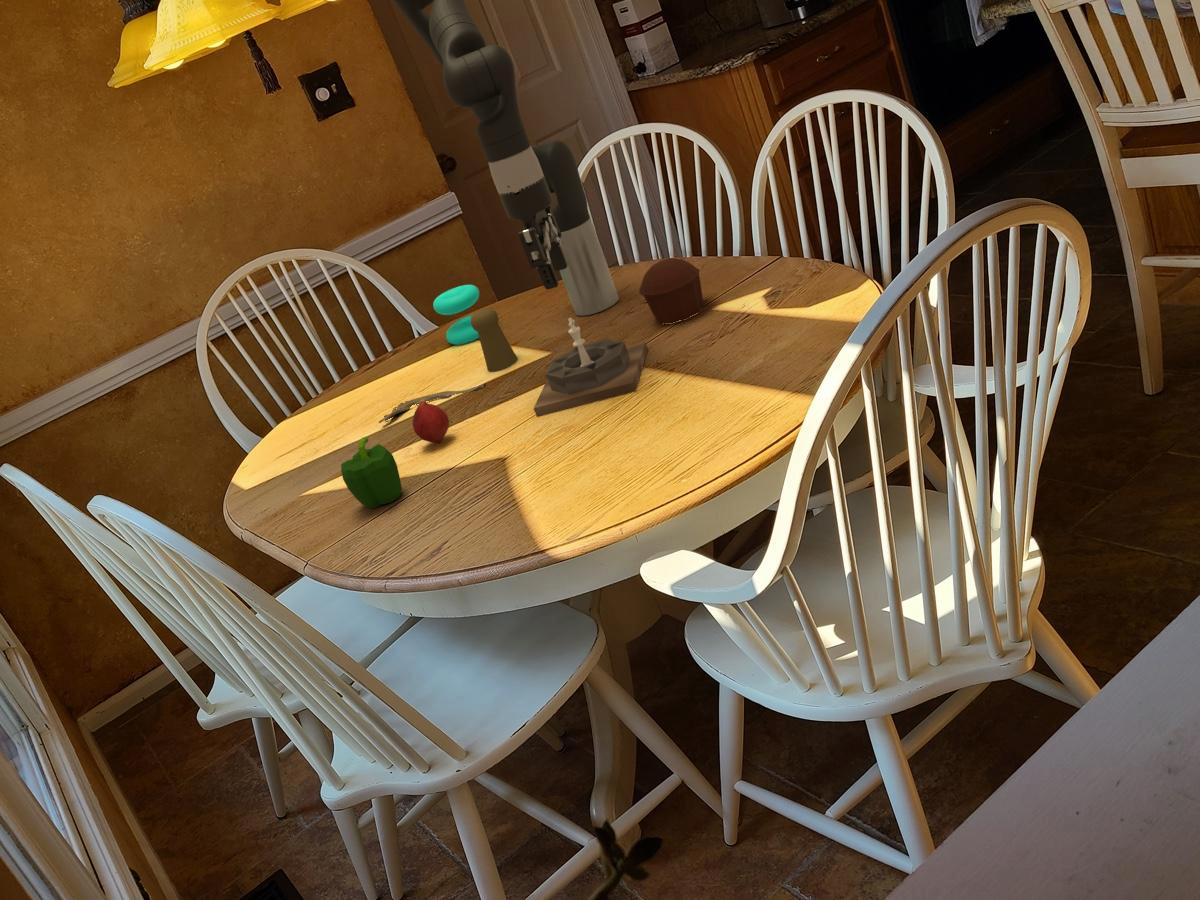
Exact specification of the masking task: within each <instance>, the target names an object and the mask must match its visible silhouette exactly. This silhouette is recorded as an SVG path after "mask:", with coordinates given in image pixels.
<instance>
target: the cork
mask: <svg viewBox="0 0 1200 900" xmlns="http://www.w3.org/2000/svg"><path fill="white" fill-rule="evenodd" d="M472 315H473V316H472V317H471V325H472V327H473V329H474V330H475V331H477V332H478V335H479V338H478V339H479V342H480V346H481V347H480V348H481V349H482V353H483V357H484V360H485V365H486V368H487V371H488V372H489V373H495V372H496V373H497V372H499V371H504V370H505V369H508V368H510V367H512V366H514V365H515V364H516V363H517V361H518V360H519V358H518V356H517V355H516V352H514V349H513V347H512V346H511V345H510V343H509V341H508V338H506V336H505V334H504V331H503V330H502V328H501V327H500V324H499V315H498V312H496V310H495V309H493V308H483V309H481V310H479V311H477V312H475V313H473V314H472Z"/></svg>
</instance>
